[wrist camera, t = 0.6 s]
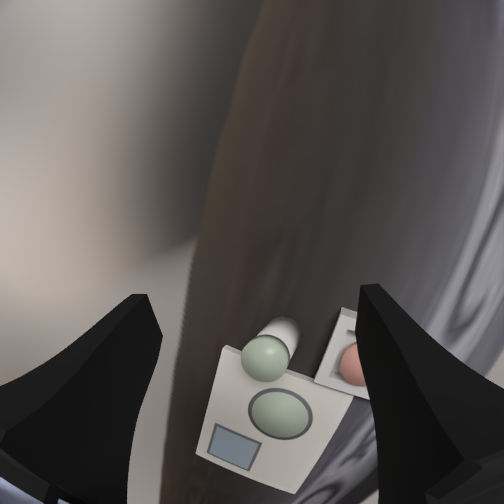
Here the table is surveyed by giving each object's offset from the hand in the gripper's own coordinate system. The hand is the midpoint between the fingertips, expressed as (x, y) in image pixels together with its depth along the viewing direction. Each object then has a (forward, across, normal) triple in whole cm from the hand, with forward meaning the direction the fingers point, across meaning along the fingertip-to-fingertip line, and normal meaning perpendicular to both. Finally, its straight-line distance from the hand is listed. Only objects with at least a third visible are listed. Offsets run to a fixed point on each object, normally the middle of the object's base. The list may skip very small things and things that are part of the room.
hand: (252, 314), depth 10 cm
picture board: (+11, +2, +30) cm, 32 cm away
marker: (+16, 0, +18) cm, 24 cm away
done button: (+12, -8, +18) cm, 23 cm away
